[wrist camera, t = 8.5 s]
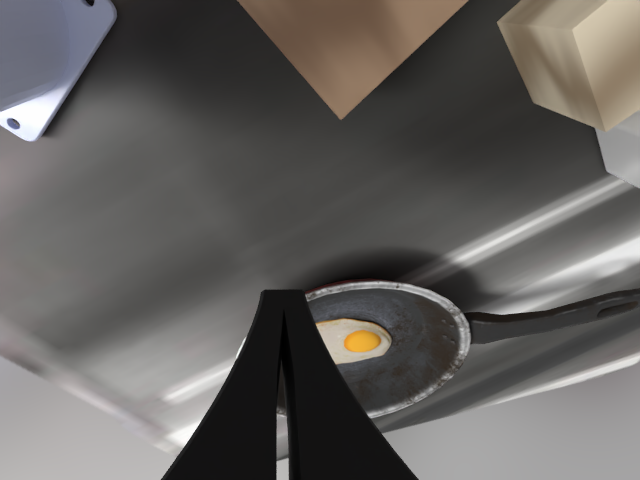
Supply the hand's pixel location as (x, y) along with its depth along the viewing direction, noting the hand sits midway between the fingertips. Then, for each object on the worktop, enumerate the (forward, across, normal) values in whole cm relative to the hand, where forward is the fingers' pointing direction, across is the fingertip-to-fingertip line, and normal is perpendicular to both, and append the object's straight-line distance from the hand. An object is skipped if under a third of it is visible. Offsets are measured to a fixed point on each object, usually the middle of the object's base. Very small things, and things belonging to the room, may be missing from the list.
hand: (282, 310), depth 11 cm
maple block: (+10, -13, -9) cm, 19 cm away
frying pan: (+10, -12, +12) cm, 20 cm away
